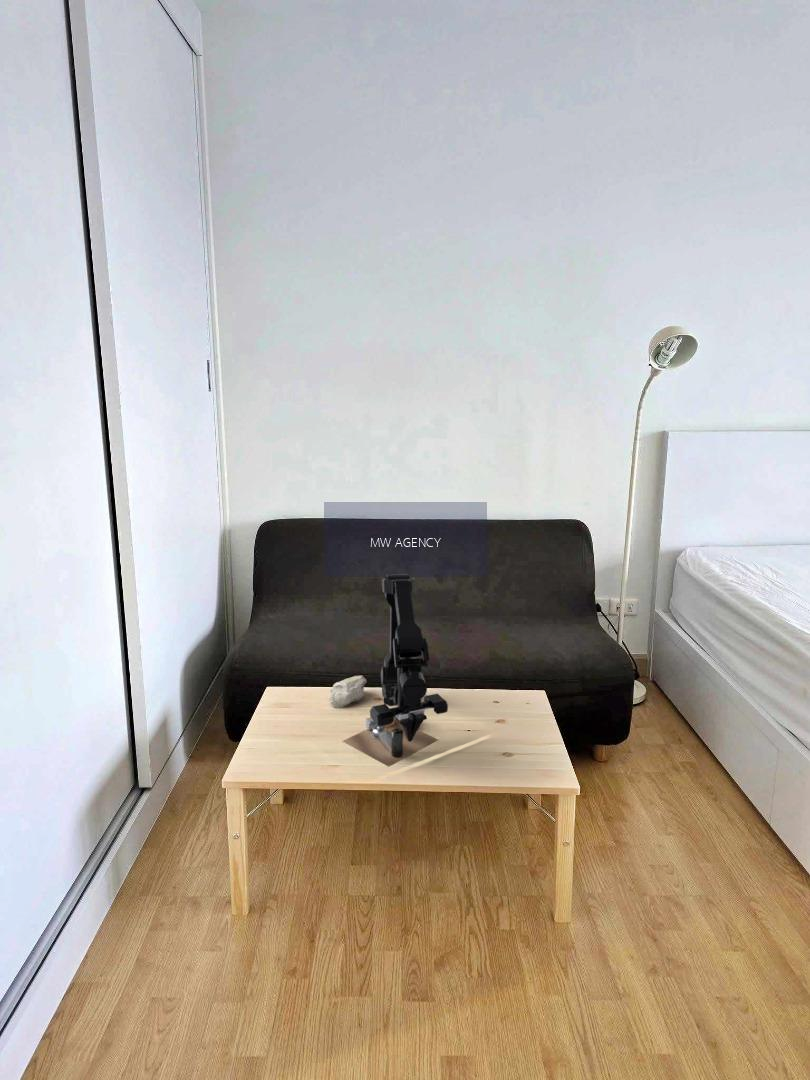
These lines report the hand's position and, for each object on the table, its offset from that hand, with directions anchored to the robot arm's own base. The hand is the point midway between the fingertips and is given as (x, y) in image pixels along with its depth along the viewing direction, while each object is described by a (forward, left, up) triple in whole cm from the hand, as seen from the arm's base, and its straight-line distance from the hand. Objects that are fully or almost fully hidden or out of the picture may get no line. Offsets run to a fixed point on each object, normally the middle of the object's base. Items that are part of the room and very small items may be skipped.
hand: (409, 740), depth 182 cm
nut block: (-6, -14, -3) cm, 16 cm away
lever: (+1, -8, -3) cm, 8 cm away
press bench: (-2, -7, -4) cm, 8 cm away
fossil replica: (-8, -32, -4) cm, 33 cm away
